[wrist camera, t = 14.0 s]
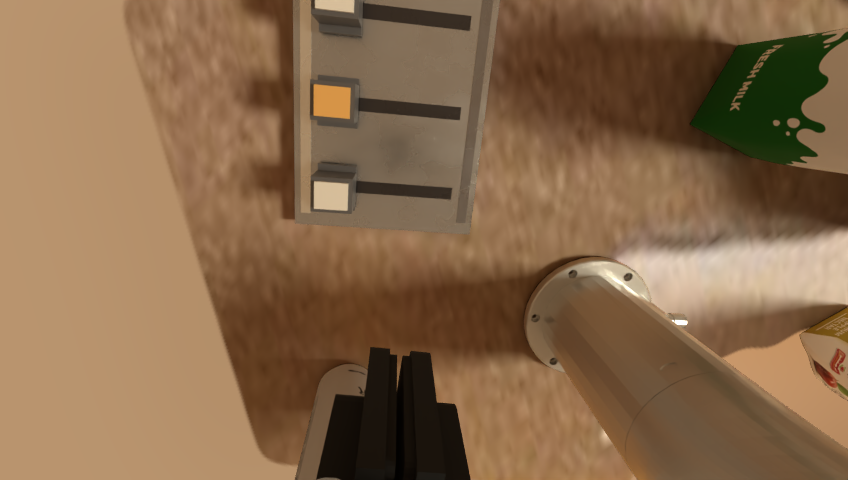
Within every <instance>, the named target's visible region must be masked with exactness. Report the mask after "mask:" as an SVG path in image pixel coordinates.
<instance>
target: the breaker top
mask: <svg viewBox="0 0 848 480" xmlns="http://www.w3.org/2000/svg"><path fill="white" fill-rule="evenodd" d="M356 176H357V166H355V165H342V164H329V163H318V170H317V171H316V172H315V173H314V174H313V175H311V184H310V211H312V212H327V213H342V214H352V212H353V211H355V202H356Z"/></svg>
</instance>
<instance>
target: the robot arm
mask: <svg viewBox="0 0 848 480" xmlns="http://www.w3.org/2000/svg"><path fill="white" fill-rule="evenodd" d="M686 325H687V319H686V317H685V315H683V314H676V313H668V314H666V313H665V312H663V311H662V310H661V309H659V308H658V307H657V306H655V305H654V304H653V303H651V297H650V293H649V290H648V287H647V286H646V284H645V282H644V281H643V279H642V278H641V277H640V276H639V275H638V274H637V273H636V272H635V271H634V270H632V269H631V268H629V267H628V266H627V265H625V264H623V263H621V262H619V261H617V260H613V259H609V258H605V257H588V258H581V259H578V260H575V261H571V262H568V263H567V264H565V265H563V266H561V267H559V268H557V269H556V270H554V271H553V272H551V273H550V274H549V275H547V276H546V277H545V278H544V279H543V280H542V281H541V282H540V283H539V285H538V286H537V287H536V289H535V290H534V292H533V293H532V295H531V297H530V299H529V301H528V304H527V306H526V311H525V315H524V330H525V335H526V339H527V341H528V343H529V345H530V347H531V349H532V350H533V352H534V354H535V355H536V356H537V357H538V358H539V359H540V360H541V361H542V362H543V363H544V364H545V365H547V366H548V367H550V368H552V369H555V370H557V371H559V372H563V373H566V374H567V375H568V377H569V378H570V380H571V381H572V383H573V384H574V386H575V387H576V389H577V390H578V392H579V393H580V395H581V396H582V398H583V399H584V401H585V402H586V404H587V405H588V407H589V408H590V410H591V411H592V413H593V414H594V416H595V417H596V419H597V420H598V422H599V423H600V425H601V426H602V428H603V429H604V431H605V432H606V434H607V435H608V437H609V438H610V440H611V442H612V443H613V445H614V446H615V448H616V449H617V451H618V452H619V454H620V455H621V457H622V458H623V460H624V461H625V463H626V464H627V466H628V467H629V469H630V470H631V471H632V473H633V474H634V476H635V477H636V478H637V480H848V449H847V448H845V447H843V446H842V445H841V444H839V443H838V442H836V441H835V440H834V439H832V438H831V437H829V436H828V435H826V434H825V433H823V432H822V431H821V430H819V429H818V428H816V427H815V426H813V425H812V424H811V423H809V422H808V421H806V420H805V419H804V418H802V417H801V416H799V415H798V414H797V413H795V412H794V411H792V410H791V409H790V408H788V407H787V406H785V405H784V404H783V403H781V402H780V401H779V400H777V399H776V398H775V397H773V396H772V395H771V394H769V393H768V392H767V391H765V390H764V389H763V388H761V387H760V386H759V385H757V384H756V383H755V382H753V381H752V380H750V379H749V378H747V377H746V376H745V375H744V374H742V373H741V372H740V371H738V370H737V369H736V368H734V367H733V366H731V365H730V364H729V363H728V362H726V361H725V360H724V359H722V358H721V357H720V356H718V355H717V354H716V353H714V352H713V351H712V350H710V349H709V348H708V347H706V346H705V345H704V344H702V343H701V342H700V341H699V340H697V339H696V338H695V337H693V336H692V335H691V334H689V333H688V332H687V331H685V330H684V329H683V328H685V327H686ZM316 480H470V474H469V469H468V464H467V459H466V454H465V449H464V444H463V438H462V433H461V428H460V423H459V418H458V413H457V408H456V405H455V404H448V403H437V401H436V393H435V385H434V377H433V370H432V362H431V355H430V353H426V352H416V351H411V352H410V356H403V357H402V362H401V368H400V375H399V381H398V388H397V355H392V354H390V349H385V348H375V347H371V349H370V357H369V365H368V372H367V380H366V388H365V396H355V395H343V394H336V395H335V398H334V403H333V407H332V411H331V416H330V420H329V424H328V429H327V433H326V438H325V442H324V446H323V451H322V455H321V460H320V464H319V468H318V473H317V477H316Z"/></svg>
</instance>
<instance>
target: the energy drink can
mask: <svg viewBox="0 0 848 480" xmlns="http://www.w3.org/2000/svg"><path fill="white" fill-rule="evenodd" d="M367 372H368V370H367V369H365V368H364V367H362V366H360V365H356V364H344V365H340V366H338V367H335V368H333V369H331V370H330V371H328V372H327V373H326V374H325V375H324V376H323V377H322V379H321V380H320V382H319V385H318V389H317V393H316V397H315V401H314V405H313V409H312V413H311V417H310V421H309V425H308V429H307V433H306V437H305V441H304V445H303V449H302V453H301V457H300V461H299V465H298V469H297V473H296V477H295V480H316V477H317V473H318V468H319V464H320V460H321V455H322V451H323V446H324V442H325V438H326V433H327V429H328V424H329V420H330V416H331V411H332V407H333V403H334V398H335V395H336V394H343V395H355V396H365V388H366V380H367Z"/></svg>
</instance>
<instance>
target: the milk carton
mask: <svg viewBox="0 0 848 480" xmlns="http://www.w3.org/2000/svg"><path fill="white" fill-rule="evenodd" d="M690 125H692V126H694V127H696V128H698V129H699V130H701V131H703V132H705V133H707V134H709V135H711V136H712V137H714V138H716V139H718V140H720V141H722V142H723V143H725V144H727V145H729V146H731V147H733V148H734V149H736V150H738V151H740V152H742V153H744V154H746V155H747V156H749V157H752V158H757V159H761V160H765V161H769V162H773V163H778V164H783V165H789V166H795V167H802V168H809V169H816V170H823V171H829V172H836V173H843V174H848V28H845V29H839V30H833V31H827V32H822V33H816V34H809V35H802V36H796V37H789V38H783V39H777V40H770V41H764V42H757V43H751V44H744V45H738V46H737V48H736V49H735V51H734V52H733V54H732V56H731V57H730V59H729V61H728V62H727V64H726V66H725V67H724V69H723V71H722V72H721V74H720V76H719V77H718V79H717V80H716V82H715V84H714V85H713V87H712V89H711V90H710V92H709V94H708V95H707V97H706V99H705V100H704V102H703V104H702V105H701V107H700V109H699V110H698V112H697V114H696V115H695V117H694V119H693V120H692V122H691V123H690Z"/></svg>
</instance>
